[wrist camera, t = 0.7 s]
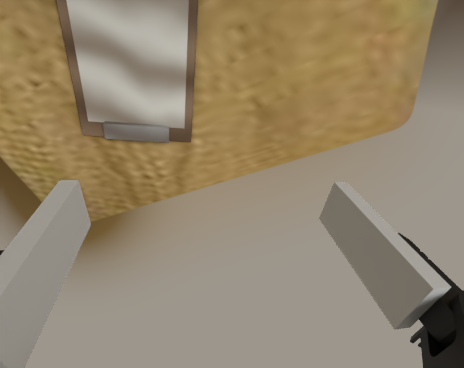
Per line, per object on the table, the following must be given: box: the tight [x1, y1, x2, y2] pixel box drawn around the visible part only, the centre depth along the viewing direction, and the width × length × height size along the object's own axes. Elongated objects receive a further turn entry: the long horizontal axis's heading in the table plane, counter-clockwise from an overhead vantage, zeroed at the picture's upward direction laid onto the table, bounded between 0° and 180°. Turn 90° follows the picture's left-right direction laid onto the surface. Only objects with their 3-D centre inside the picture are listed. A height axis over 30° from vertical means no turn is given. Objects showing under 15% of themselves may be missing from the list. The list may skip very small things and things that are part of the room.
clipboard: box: [56, 0, 198, 143], centre depth 28 cm, size 18×14×2 cm
